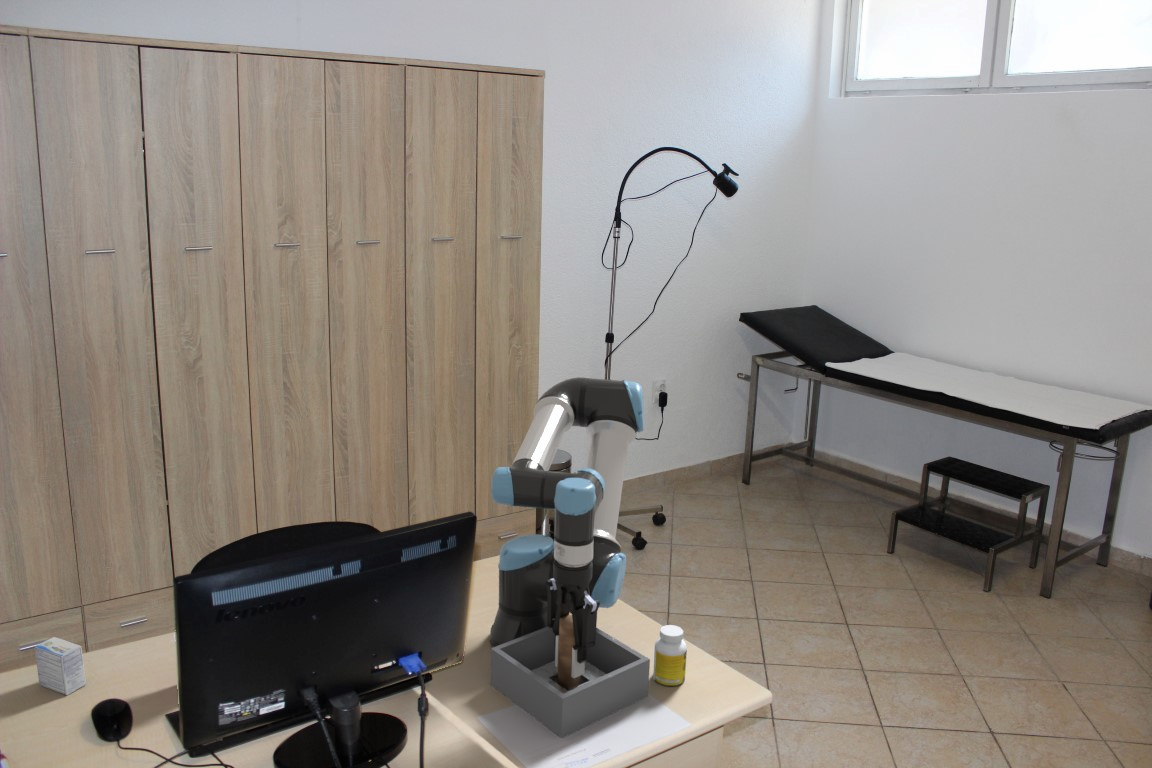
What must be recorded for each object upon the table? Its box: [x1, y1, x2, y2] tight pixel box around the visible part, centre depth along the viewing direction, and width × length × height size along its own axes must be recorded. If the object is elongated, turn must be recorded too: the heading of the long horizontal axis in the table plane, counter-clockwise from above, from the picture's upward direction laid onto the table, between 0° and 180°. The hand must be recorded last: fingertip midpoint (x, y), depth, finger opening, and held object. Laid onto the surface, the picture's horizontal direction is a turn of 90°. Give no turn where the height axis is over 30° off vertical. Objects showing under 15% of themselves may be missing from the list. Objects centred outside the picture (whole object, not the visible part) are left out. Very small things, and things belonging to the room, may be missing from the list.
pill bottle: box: [652, 624, 688, 688], centre depth 188 cm, size 6×6×12 cm
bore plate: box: [531, 661, 606, 693], centre depth 184 cm, size 14×14×2 cm
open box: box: [490, 627, 651, 739], centre depth 183 cm, size 22×22×9 cm
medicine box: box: [34, 636, 87, 696], centre depth 181 cm, size 8×4×9 cm, turn 65°
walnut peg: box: [558, 614, 580, 691], centre depth 182 cm, size 4×4×14 cm
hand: (569, 669), depth 183 cm, fingers closed on walnut peg, 4 cm apart
